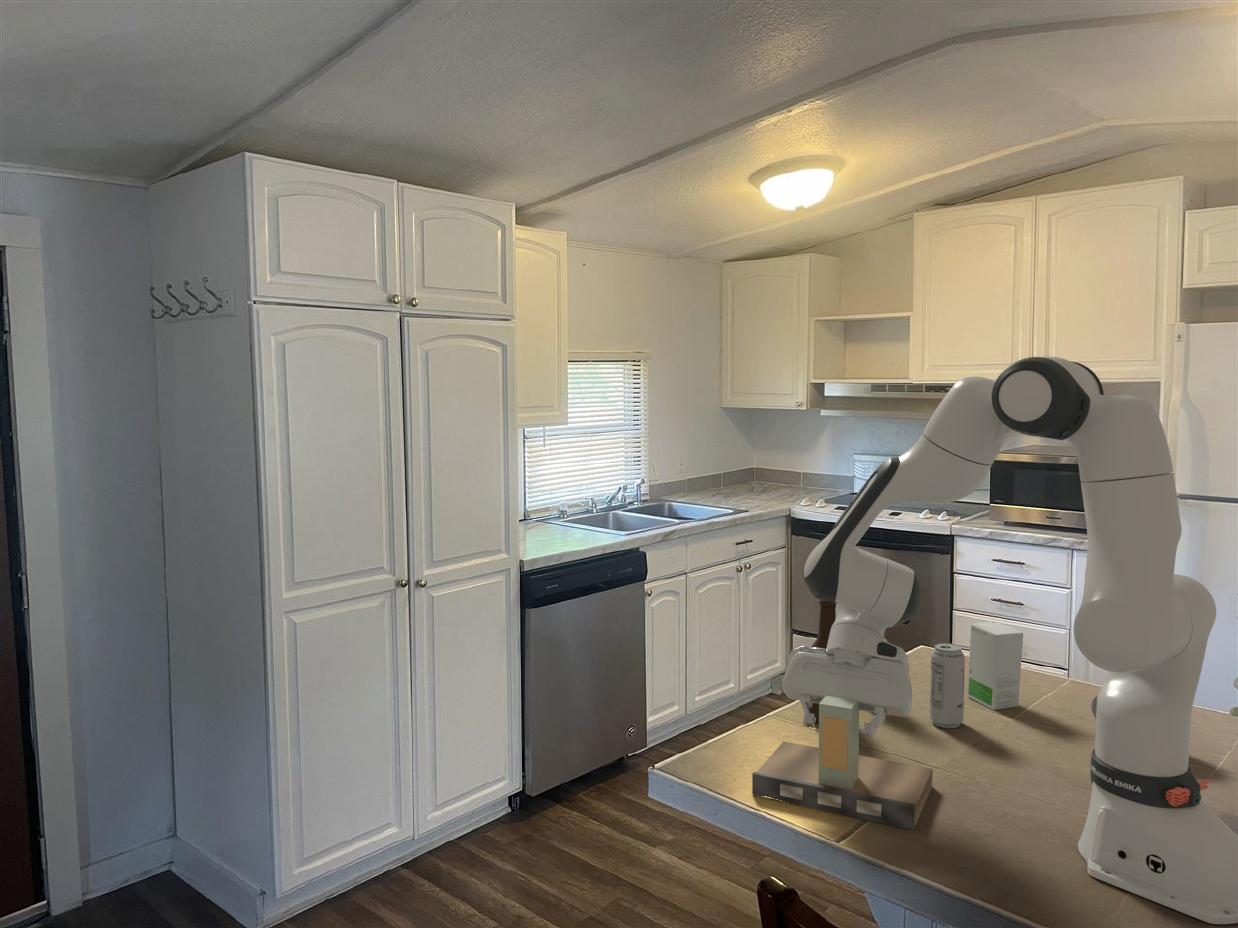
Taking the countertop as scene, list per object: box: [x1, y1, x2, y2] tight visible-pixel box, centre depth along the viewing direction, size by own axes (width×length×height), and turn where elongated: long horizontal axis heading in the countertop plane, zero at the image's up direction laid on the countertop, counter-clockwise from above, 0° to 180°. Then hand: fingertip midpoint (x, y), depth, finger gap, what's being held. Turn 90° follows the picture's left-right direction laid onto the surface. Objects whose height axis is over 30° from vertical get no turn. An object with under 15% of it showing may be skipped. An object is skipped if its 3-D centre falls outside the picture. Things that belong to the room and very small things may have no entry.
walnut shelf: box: [751, 741, 933, 831], centre depth 146 cm, size 25×16×4 cm, turn 62°
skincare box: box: [966, 620, 1024, 711], centre depth 184 cm, size 8×7×16 cm
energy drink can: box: [929, 642, 966, 729], centre depth 173 cm, size 6×6×15 cm
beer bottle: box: [808, 599, 837, 726], centre depth 175 cm, size 8×8×24 cm
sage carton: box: [818, 695, 860, 790], centre depth 143 cm, size 5×5×13 cm
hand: (837, 730), depth 142 cm, fingers open, 8 cm apart
